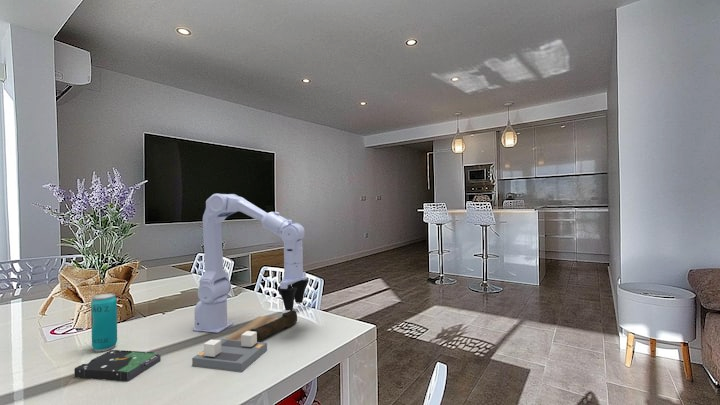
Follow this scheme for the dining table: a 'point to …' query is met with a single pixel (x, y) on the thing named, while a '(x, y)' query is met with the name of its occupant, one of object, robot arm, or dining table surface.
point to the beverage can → (104, 322)
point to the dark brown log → (276, 325)
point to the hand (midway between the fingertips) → (294, 306)
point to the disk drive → (118, 365)
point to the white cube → (212, 348)
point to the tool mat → (251, 326)
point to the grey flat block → (231, 356)
